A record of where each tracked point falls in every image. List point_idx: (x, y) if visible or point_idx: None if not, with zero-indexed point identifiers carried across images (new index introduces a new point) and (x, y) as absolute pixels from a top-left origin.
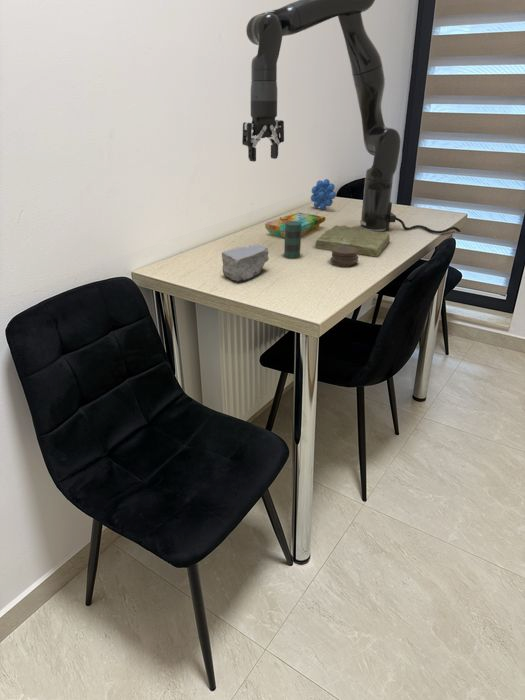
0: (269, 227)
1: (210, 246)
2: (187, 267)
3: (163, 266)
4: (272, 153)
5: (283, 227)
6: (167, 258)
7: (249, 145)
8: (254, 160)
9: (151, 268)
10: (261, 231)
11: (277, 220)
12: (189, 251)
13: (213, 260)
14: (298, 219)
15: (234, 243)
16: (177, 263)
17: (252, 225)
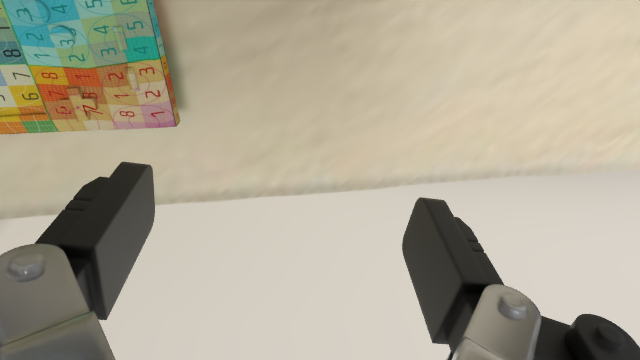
0: (174, 103)
1: (399, 158)
2: (598, 77)
3: (611, 133)
4: (139, 228)
5: (155, 37)
6: (547, 170)
7: (593, 317)
8: (441, 200)
9: (635, 144)
10: (166, 145)
11: (113, 113)
12: (468, 169)
13: (510, 61)
14: (23, 52)
15: (331, 125)
16: (575, 123)
17: None
